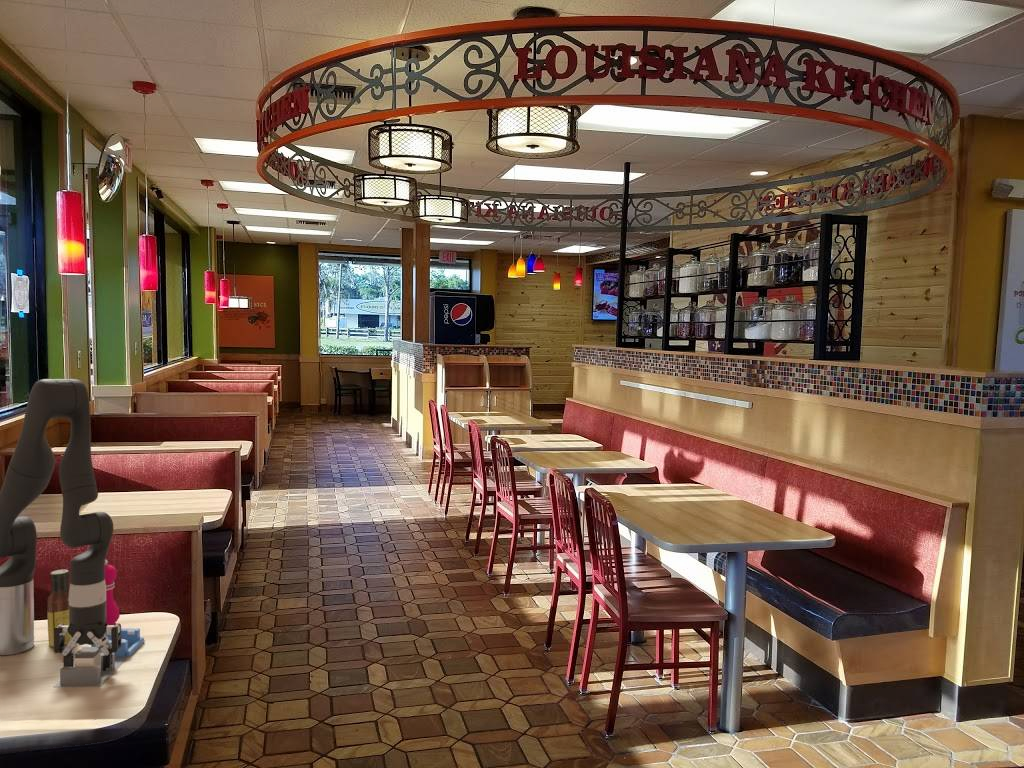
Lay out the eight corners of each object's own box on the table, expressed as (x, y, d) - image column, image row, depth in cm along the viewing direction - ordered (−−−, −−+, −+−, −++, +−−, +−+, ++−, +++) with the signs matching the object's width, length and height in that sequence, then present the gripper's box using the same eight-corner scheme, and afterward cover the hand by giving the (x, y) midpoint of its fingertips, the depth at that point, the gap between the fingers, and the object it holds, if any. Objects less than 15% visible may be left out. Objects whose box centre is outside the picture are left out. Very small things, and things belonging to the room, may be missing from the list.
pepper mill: (85, 639, 200) (85, 564, 199) (92, 628, 207) (92, 556, 205) (116, 636, 202) (116, 562, 201) (122, 626, 209) (121, 554, 207)
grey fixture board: (53, 693, 170) (53, 671, 169) (105, 646, 196) (104, 627, 195) (100, 692, 171) (100, 671, 170) (145, 645, 197) (145, 626, 196)
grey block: (74, 679, 173) (74, 654, 173) (83, 672, 177) (83, 646, 177) (93, 679, 174) (93, 653, 173) (101, 671, 178) (101, 646, 177)
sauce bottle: (82, 644, 197) (82, 568, 195) (66, 654, 190) (65, 576, 189) (58, 642, 197) (58, 567, 196) (41, 652, 191) (40, 574, 190)
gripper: (127, 594, 179) (127, 662, 180) (63, 594, 178) (63, 663, 179) (113, 605, 171) (113, 676, 172) (46, 606, 170) (47, 677, 171)
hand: (88, 669), depth 176 cm, fingers open, 7 cm apart
